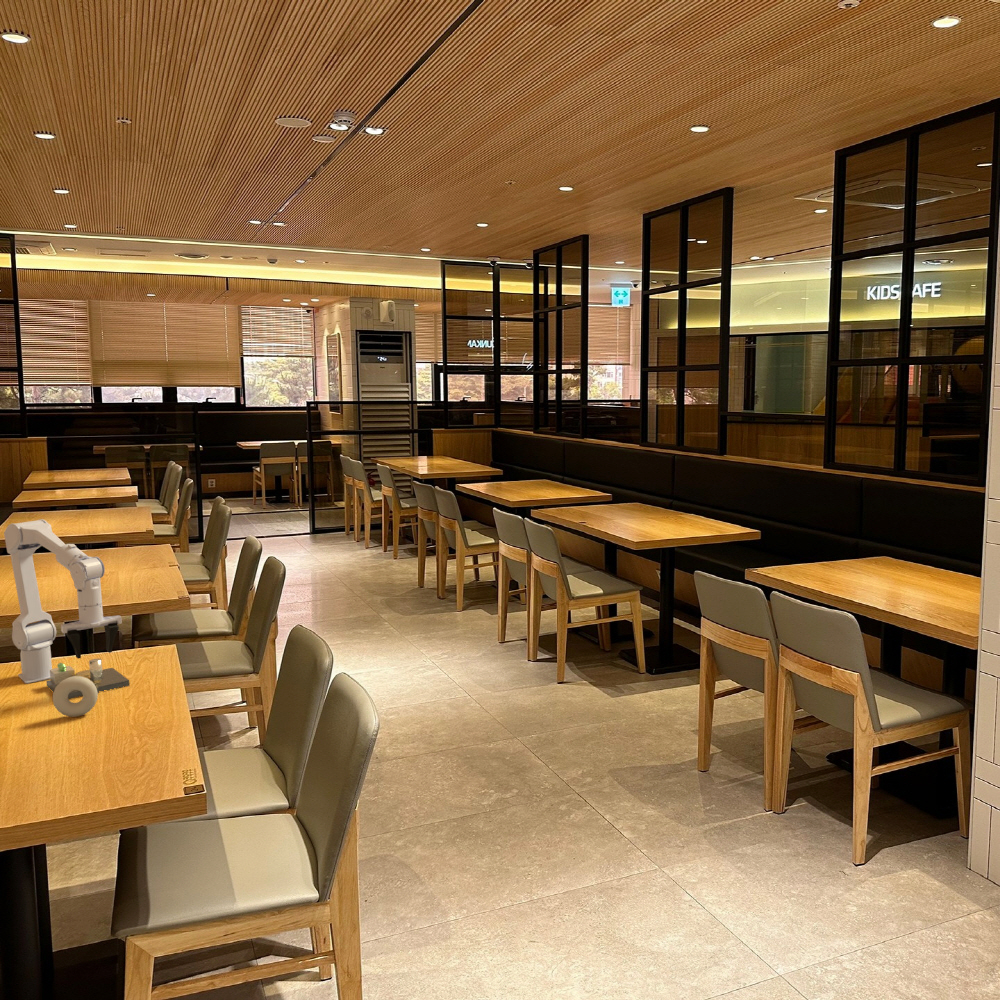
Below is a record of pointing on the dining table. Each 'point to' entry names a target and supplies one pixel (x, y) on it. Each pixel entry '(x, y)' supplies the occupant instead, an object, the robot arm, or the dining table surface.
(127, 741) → the dining table surface
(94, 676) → the gold rounded piece
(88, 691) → the donut
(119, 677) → the instrument base
